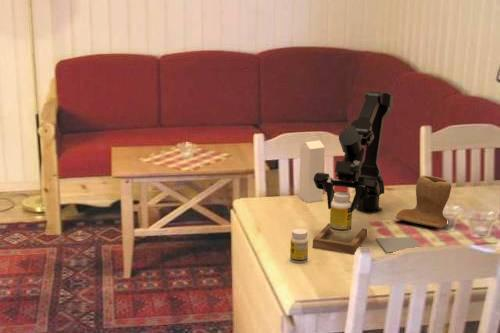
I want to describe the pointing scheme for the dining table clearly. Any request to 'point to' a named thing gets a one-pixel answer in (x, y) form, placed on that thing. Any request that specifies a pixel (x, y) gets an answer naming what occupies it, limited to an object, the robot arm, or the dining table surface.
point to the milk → (311, 169)
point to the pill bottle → (341, 213)
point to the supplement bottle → (299, 246)
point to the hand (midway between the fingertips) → (339, 210)
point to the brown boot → (428, 202)
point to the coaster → (396, 243)
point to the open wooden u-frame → (337, 246)
